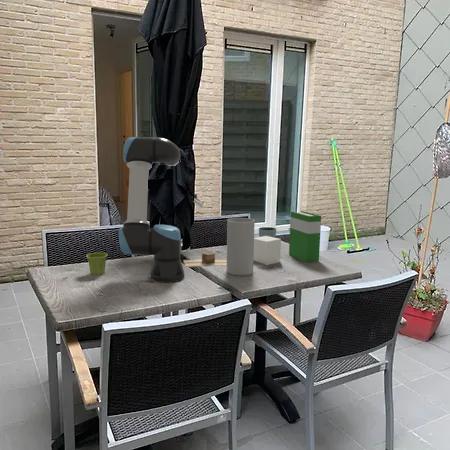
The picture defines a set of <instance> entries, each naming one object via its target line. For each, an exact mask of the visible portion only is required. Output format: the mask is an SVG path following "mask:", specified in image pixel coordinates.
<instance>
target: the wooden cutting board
mask: <svg viewBox="0 0 450 450" xmlns="http://www.w3.org/2000/svg"><path fill="white" fill-rule="evenodd" d="M193 260H194V261H193ZM182 261H183V263H184V265H185V267H186V268H190V267H191V268H193V267H195V268H196V267H216V266H218V267H219V266H227V258H215V263H211V264H206V263H203V262H202V258H200V259H182Z"/></svg>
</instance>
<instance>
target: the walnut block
mask: <svg viewBox="0 0 450 450" xmlns="http://www.w3.org/2000/svg"><path fill="white" fill-rule="evenodd" d="M215 255H216V253H214V252H210V251H206V252H203V253H201V259H202V262H203V263H206V264H211V263H215V259H216V256H215Z"/></svg>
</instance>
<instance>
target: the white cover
mask: <svg viewBox="0 0 450 450" xmlns="http://www.w3.org/2000/svg"><path fill="white" fill-rule="evenodd" d="M281 246H282V238H278V237H275V238H274V237H269V236H262V237H259V236H257V237H254V261H253V262H254V263H255V262H256V263H260V264H262V265H264V266H268V265H273V264H278V263H280V262H281V249H282V248H281Z"/></svg>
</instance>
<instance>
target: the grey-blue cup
mask: <svg viewBox="0 0 450 450" xmlns="http://www.w3.org/2000/svg"><path fill="white" fill-rule="evenodd" d="M276 235H277V228H276V227H271V226H264V227H263V226H262V227H258V237H262V236H269V237H274V238H276Z"/></svg>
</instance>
